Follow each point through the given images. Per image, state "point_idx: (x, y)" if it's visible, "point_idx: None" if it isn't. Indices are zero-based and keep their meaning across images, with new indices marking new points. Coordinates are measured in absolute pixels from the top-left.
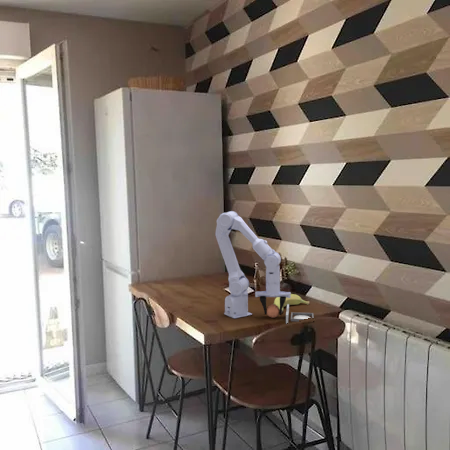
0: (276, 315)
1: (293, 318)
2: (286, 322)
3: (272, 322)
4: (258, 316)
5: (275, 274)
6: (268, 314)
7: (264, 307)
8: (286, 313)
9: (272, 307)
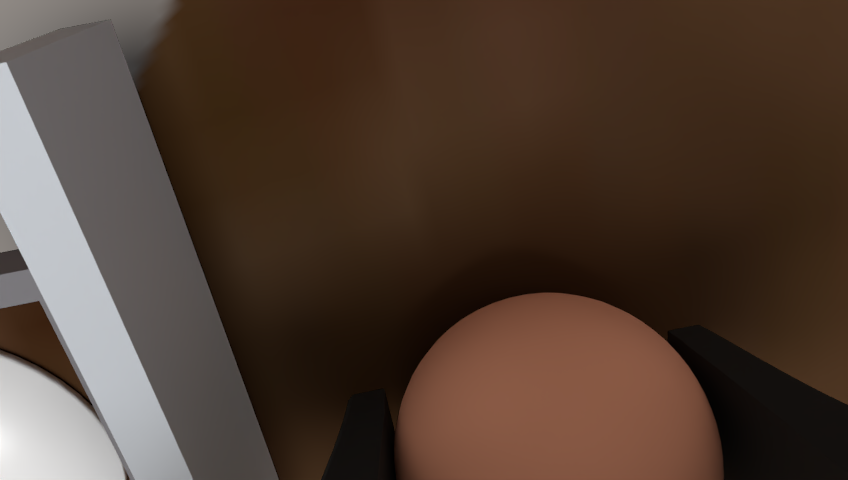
0: (439, 339)
1: (8, 303)
2: (88, 27)
3: (461, 25)
4: (787, 325)
5: None
6: (622, 310)
7: (815, 410)
8: (78, 249)
9: (589, 452)
